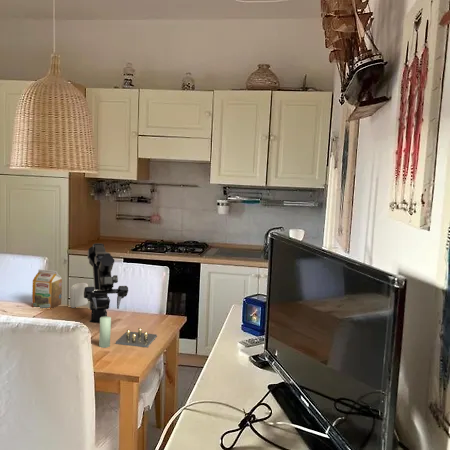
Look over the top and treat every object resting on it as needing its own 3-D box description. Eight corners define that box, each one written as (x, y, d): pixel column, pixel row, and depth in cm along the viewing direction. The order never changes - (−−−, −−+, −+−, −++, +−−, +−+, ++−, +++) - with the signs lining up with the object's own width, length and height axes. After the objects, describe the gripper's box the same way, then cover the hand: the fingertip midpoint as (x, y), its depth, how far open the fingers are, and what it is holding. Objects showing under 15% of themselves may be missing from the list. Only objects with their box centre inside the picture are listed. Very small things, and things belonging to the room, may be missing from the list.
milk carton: (61, 304, 255) (62, 269, 253) (50, 309, 245) (51, 273, 243) (43, 302, 257) (44, 267, 255) (32, 307, 246) (32, 271, 244)
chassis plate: (115, 343, 202) (115, 334, 202) (127, 333, 216) (127, 324, 216) (147, 347, 200) (147, 338, 200) (156, 336, 214) (157, 328, 214)
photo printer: (74, 308, 249) (74, 285, 248) (68, 306, 251) (69, 283, 250) (89, 304, 258) (89, 282, 256) (83, 302, 260) (84, 280, 259)
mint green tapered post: (97, 347, 198) (98, 318, 196) (101, 343, 202) (102, 315, 201) (107, 348, 197) (108, 320, 196) (111, 344, 201) (112, 316, 200)
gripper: (85, 269, 205) (87, 301, 196) (128, 268, 212) (132, 299, 204) (82, 281, 213) (84, 313, 205) (124, 280, 220) (127, 311, 212)
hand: (107, 309), depth 206 cm, fingers open, 9 cm apart
